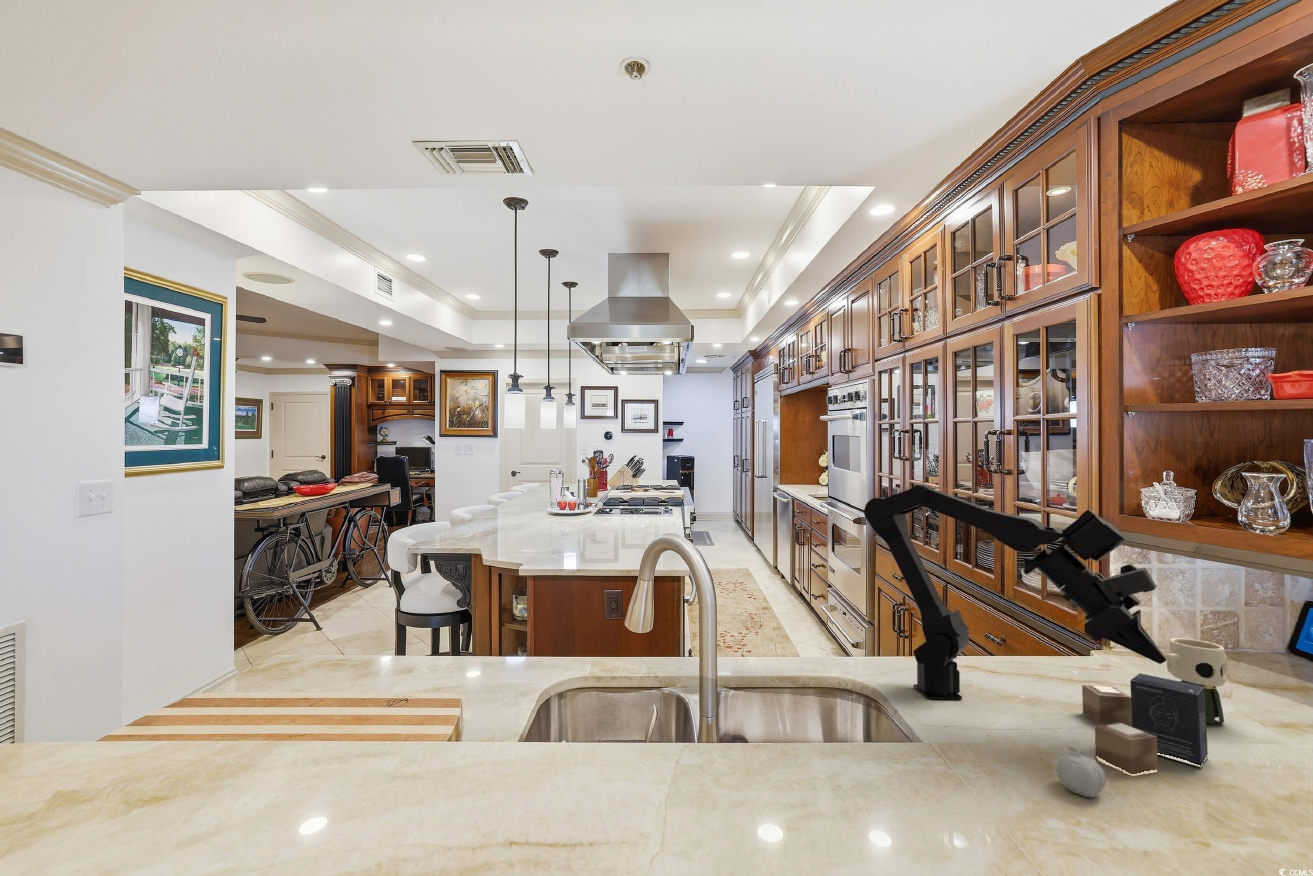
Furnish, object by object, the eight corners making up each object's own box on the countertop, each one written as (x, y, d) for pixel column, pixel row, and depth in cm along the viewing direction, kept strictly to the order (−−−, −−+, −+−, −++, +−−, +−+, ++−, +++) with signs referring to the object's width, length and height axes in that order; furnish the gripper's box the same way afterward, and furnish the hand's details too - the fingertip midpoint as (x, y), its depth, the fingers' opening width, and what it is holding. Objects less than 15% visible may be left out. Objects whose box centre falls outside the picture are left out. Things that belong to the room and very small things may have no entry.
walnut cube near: (1131, 777, 80) (1130, 738, 81) (1095, 760, 85) (1094, 723, 86) (1157, 773, 82) (1156, 734, 82) (1120, 756, 87) (1119, 720, 87)
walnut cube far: (1099, 725, 98) (1098, 693, 98) (1082, 713, 103) (1082, 683, 103) (1132, 728, 97) (1131, 696, 97) (1114, 716, 102) (1113, 685, 102)
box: (1208, 758, 86) (1205, 686, 87) (1201, 770, 83) (1198, 694, 84) (1141, 739, 93) (1138, 671, 93) (1132, 749, 89) (1129, 678, 90)
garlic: (1049, 776, 80) (1048, 737, 81) (1095, 784, 78) (1094, 744, 79) (1063, 799, 75) (1062, 757, 75) (1113, 807, 73) (1112, 764, 73)
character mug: (1190, 728, 97) (1187, 649, 98) (1151, 711, 104) (1148, 637, 105) (1250, 728, 98) (1247, 649, 98) (1207, 710, 105) (1204, 637, 106)
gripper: (1109, 553, 87) (1214, 644, 78) (1122, 544, 100) (1212, 621, 92) (1048, 598, 92) (1140, 688, 83) (1068, 583, 105) (1149, 660, 97)
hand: (1163, 662), depth 89 cm, fingers closed
